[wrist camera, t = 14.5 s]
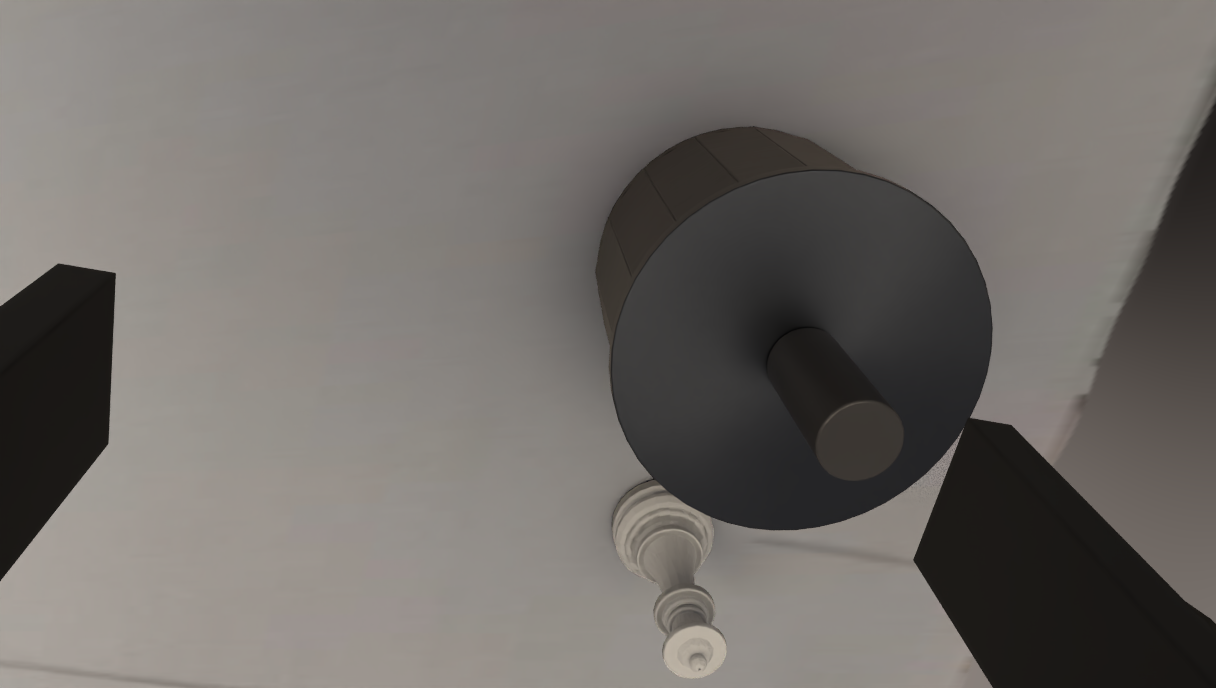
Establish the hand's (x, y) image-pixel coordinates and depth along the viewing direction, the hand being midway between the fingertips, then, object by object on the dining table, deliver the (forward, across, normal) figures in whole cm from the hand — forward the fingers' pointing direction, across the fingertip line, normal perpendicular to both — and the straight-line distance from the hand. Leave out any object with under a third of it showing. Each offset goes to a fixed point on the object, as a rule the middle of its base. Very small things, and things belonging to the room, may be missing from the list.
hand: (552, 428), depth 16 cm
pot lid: (+15, +9, -4) cm, 18 cm away
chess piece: (+25, +9, -16) cm, 31 cm away
